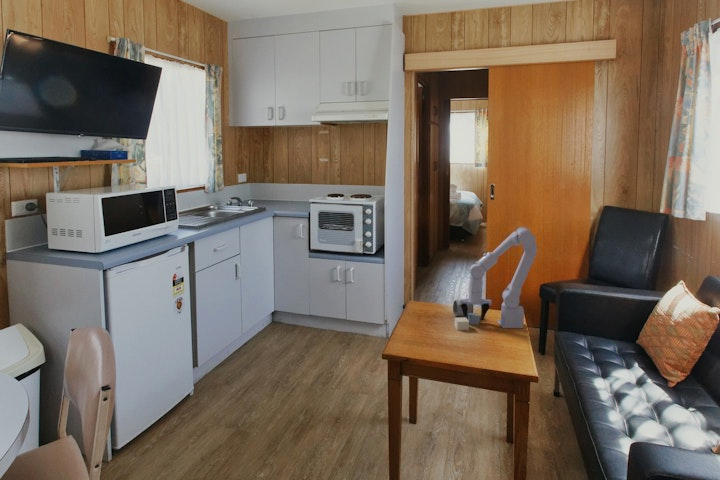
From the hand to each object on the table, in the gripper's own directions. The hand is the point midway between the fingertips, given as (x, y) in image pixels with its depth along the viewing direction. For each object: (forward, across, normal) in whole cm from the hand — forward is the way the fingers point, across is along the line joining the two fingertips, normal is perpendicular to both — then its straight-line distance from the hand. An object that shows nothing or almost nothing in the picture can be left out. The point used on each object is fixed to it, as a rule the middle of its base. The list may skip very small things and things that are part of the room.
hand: (473, 319), depth 229 cm
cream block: (+2, +7, +6) cm, 9 cm away
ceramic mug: (+2, +3, -10) cm, 11 cm away
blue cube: (+2, 0, 0) cm, 2 cm away
